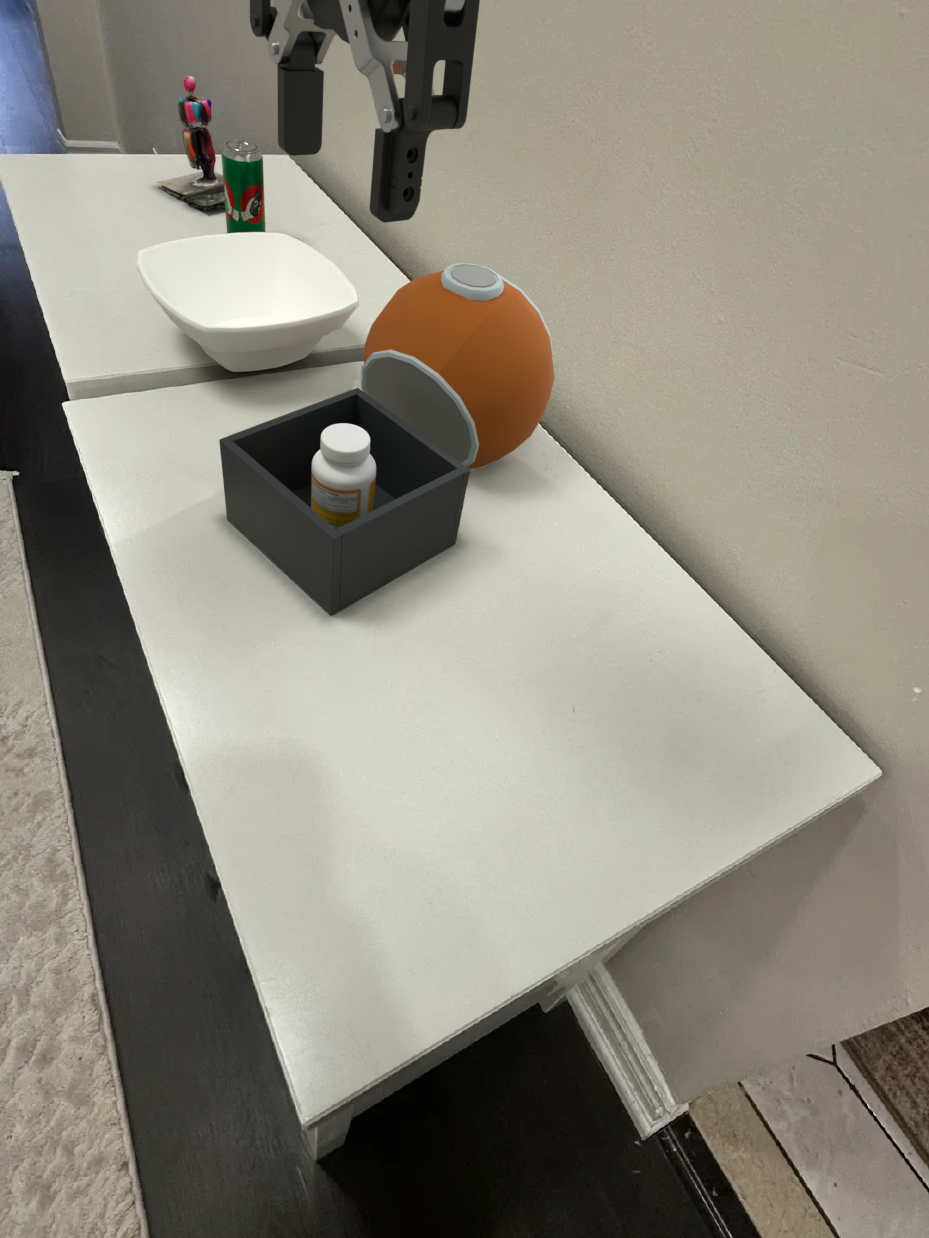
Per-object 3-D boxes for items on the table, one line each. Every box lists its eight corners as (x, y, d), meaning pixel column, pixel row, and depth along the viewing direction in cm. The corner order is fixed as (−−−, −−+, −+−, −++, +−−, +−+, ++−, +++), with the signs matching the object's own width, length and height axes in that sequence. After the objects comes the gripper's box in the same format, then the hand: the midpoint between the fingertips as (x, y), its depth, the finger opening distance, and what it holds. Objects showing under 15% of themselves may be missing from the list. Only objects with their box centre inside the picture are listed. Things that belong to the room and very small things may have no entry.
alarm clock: (563, 440, 85) (609, 287, 72) (477, 514, 74) (513, 349, 61) (425, 369, 90) (444, 215, 78) (325, 429, 79) (329, 261, 67)
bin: (331, 616, 63) (334, 539, 56) (226, 519, 68) (218, 439, 62) (455, 544, 71) (470, 469, 64) (353, 463, 76) (357, 387, 70)
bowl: (203, 419, 77) (194, 340, 71) (126, 322, 87) (113, 245, 81) (377, 378, 87) (383, 305, 81) (291, 294, 97) (290, 224, 91)
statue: (160, 197, 113) (134, 74, 103) (212, 184, 119) (193, 66, 108) (206, 215, 108) (184, 88, 98) (258, 201, 114) (243, 79, 103)
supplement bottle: (344, 499, 72) (348, 410, 64) (383, 530, 70) (392, 442, 62) (298, 522, 69) (297, 431, 61) (338, 556, 67) (342, 465, 59)
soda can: (270, 240, 107) (267, 144, 98) (259, 254, 103) (254, 156, 94) (235, 232, 107) (228, 135, 98) (222, 246, 103) (214, 147, 94)
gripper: (175, -361, 28) (207, 137, 40) (398, -334, 22) (358, 253, 33) (349, -307, 32) (332, 132, 44) (582, -270, 25) (489, 235, 37)
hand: (343, 184), depth 38 cm, fingers open, 8 cm apart
